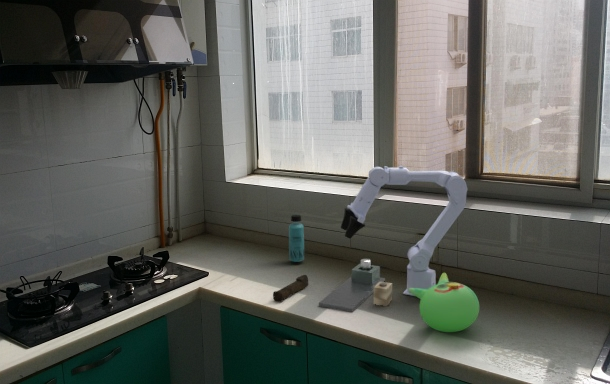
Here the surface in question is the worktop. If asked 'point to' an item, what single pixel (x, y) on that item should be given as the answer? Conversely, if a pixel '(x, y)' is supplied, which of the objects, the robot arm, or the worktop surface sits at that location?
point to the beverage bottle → (296, 240)
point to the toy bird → (447, 305)
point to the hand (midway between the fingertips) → (345, 233)
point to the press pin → (366, 264)
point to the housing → (382, 293)
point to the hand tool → (291, 288)
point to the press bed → (353, 289)
